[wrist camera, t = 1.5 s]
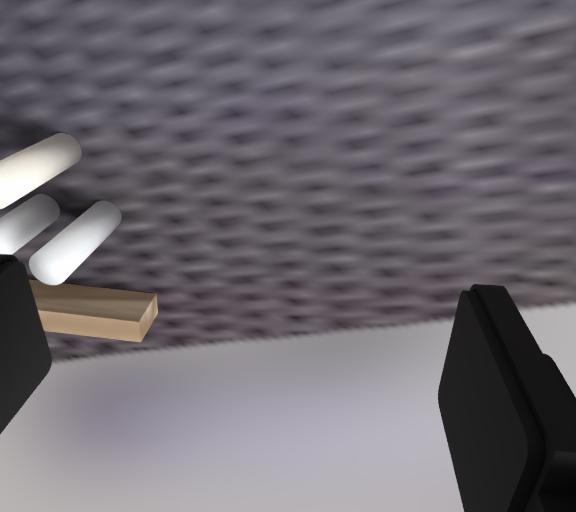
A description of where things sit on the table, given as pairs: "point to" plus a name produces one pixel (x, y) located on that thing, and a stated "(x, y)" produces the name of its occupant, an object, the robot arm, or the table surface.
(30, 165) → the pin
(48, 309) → the back wall
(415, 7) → the table surface
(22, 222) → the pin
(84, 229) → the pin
